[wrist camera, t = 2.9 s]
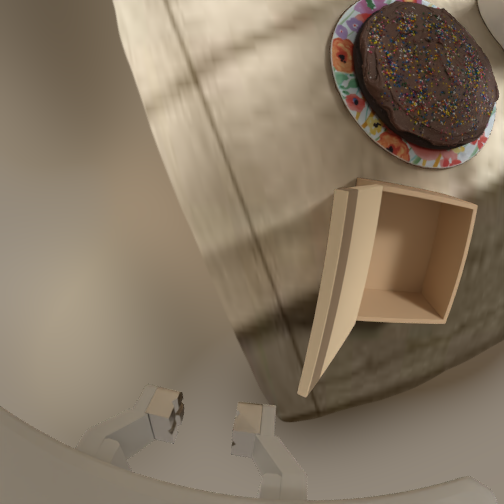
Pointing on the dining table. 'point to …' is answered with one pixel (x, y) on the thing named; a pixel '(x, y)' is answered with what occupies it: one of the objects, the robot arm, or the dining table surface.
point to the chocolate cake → (414, 81)
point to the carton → (416, 255)
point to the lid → (341, 276)
